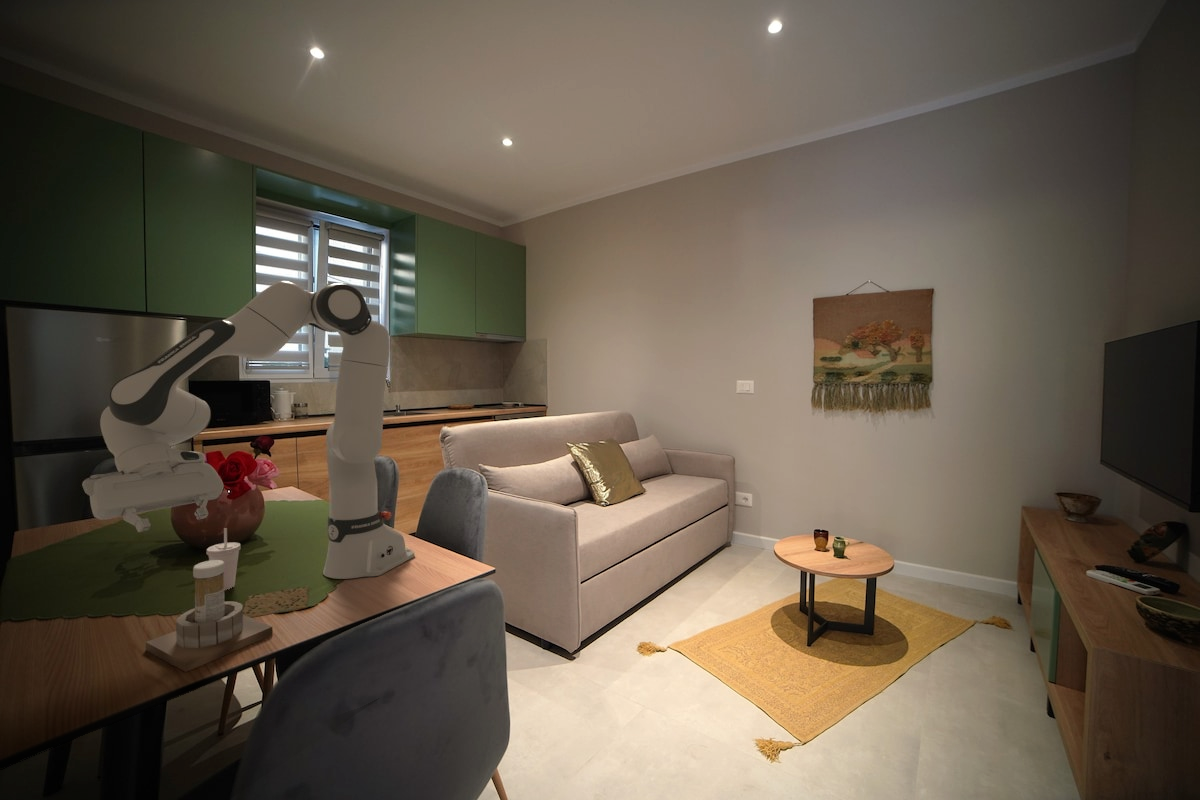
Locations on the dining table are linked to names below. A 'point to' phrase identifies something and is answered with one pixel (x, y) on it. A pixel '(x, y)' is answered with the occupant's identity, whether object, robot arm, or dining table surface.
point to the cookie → (276, 602)
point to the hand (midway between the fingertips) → (175, 522)
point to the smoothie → (226, 559)
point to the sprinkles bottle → (209, 590)
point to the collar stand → (207, 637)
